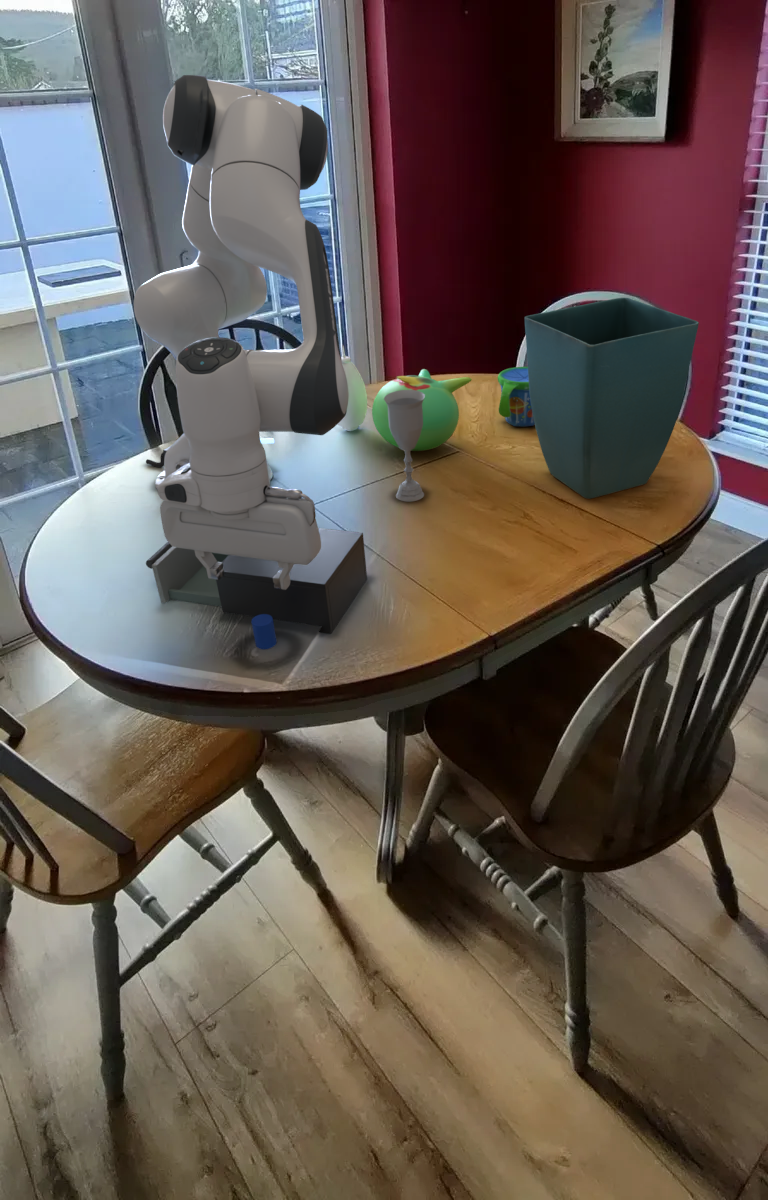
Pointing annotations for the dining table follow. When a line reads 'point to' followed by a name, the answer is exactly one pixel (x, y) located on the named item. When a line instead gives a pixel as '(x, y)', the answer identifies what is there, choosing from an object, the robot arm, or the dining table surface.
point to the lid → (264, 631)
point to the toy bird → (423, 408)
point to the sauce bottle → (353, 396)
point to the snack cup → (515, 397)
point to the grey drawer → (183, 576)
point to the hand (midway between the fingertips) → (249, 581)
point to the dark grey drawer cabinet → (298, 583)
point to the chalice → (406, 434)
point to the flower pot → (606, 390)
